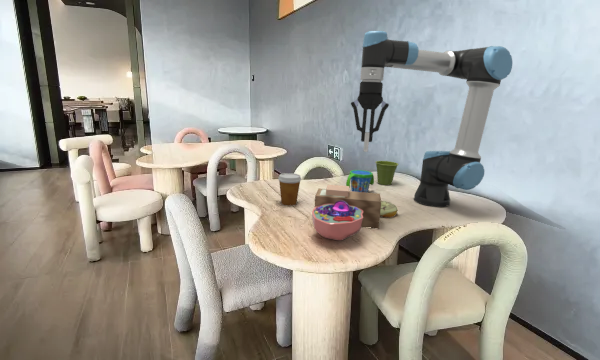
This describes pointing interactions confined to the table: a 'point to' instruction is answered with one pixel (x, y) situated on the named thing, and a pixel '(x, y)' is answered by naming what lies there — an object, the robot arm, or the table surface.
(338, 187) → the tile
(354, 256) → the table surface
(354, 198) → the block
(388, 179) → the plant pot
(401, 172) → the table surface
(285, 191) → the disposable coffee cup
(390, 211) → the decorated donut
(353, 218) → the cell model
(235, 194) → the table surface
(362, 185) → the snack cup
